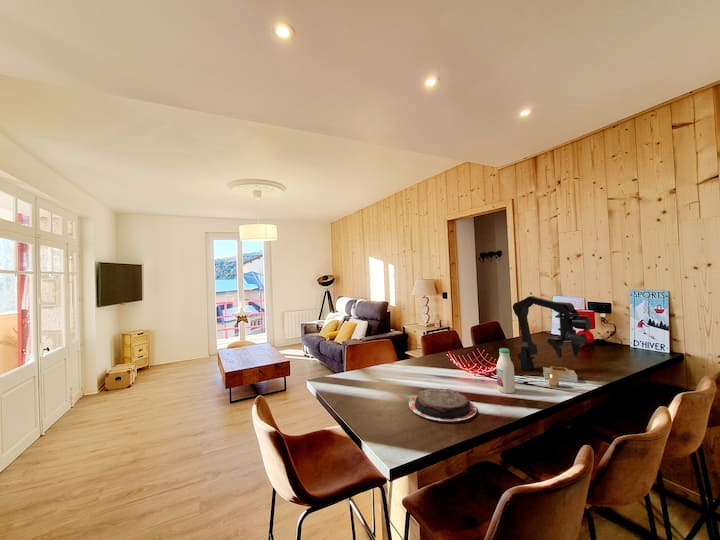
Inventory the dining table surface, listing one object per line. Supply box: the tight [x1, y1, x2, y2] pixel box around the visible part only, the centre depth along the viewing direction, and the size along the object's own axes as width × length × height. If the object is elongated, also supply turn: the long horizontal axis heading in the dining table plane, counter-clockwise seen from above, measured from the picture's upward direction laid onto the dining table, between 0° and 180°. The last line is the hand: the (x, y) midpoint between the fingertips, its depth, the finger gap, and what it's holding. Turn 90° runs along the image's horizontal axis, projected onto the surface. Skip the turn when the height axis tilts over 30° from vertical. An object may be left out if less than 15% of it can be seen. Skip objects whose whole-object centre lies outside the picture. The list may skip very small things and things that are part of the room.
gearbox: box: [542, 366, 579, 384], centre depth 154 cm, size 14×10×5 cm
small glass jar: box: [548, 373, 560, 388], centre depth 144 cm, size 4×4×6 cm
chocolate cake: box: [408, 388, 477, 424], centre depth 123 cm, size 28×28×7 cm
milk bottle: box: [496, 347, 516, 394], centre depth 140 cm, size 8×8×20 cm
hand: (567, 357), depth 150 cm, fingers open, 9 cm apart
